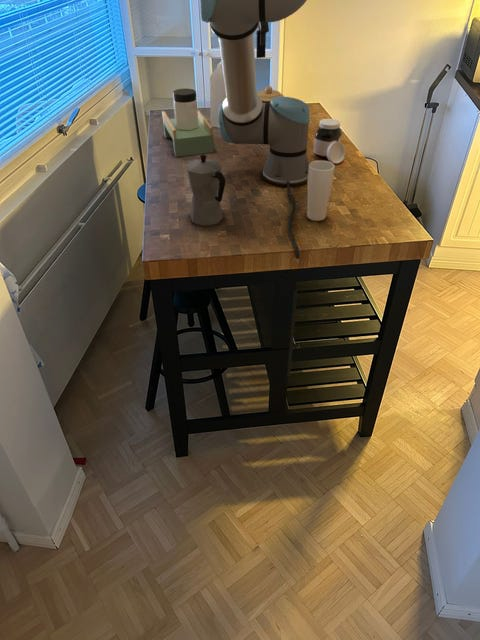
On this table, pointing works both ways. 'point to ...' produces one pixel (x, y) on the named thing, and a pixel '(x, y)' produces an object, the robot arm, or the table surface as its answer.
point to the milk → (216, 94)
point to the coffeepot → (206, 191)
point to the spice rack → (189, 137)
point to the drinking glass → (319, 189)
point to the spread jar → (329, 141)
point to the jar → (185, 109)
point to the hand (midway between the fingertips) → (253, 53)
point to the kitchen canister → (268, 94)
